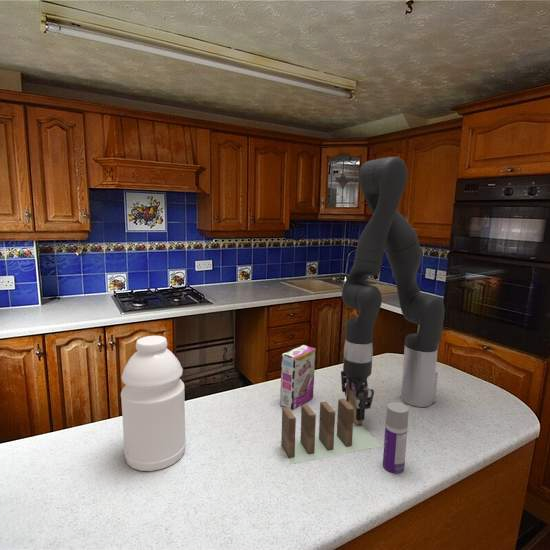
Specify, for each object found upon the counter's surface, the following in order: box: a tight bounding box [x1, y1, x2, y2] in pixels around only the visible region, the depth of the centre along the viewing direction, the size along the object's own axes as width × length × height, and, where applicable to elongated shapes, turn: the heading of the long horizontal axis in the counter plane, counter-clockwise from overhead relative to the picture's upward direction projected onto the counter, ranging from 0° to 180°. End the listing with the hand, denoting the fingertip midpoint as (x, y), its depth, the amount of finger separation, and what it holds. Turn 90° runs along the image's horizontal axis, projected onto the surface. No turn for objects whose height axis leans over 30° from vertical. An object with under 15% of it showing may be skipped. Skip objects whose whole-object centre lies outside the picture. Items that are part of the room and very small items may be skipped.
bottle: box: [120, 335, 187, 472], centre depth 86 cm, size 14×14×28 cm
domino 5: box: [348, 388, 363, 426], centre depth 103 cm, size 2×5×10 cm, turn 18°
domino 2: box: [299, 403, 317, 455], centre depth 90 cm, size 2×5×10 cm, turn 18°
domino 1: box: [280, 407, 297, 458], centre depth 88 cm, size 2×5×10 cm, turn 18°
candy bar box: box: [279, 344, 317, 411], centre depth 112 cm, size 11×5×16 cm, turn 141°
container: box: [382, 401, 409, 475], centre depth 83 cm, size 5×5×15 cm
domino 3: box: [318, 400, 336, 451], centre depth 91 cm, size 2×5×10 cm, turn 18°
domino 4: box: [336, 398, 354, 447], centre depth 93 cm, size 2×5×10 cm, turn 18°
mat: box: [277, 425, 382, 465], centre depth 93 cm, size 24×9×1 cm, turn 108°
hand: (354, 414), depth 103 cm, fingers closed on domino 5, 5 cm apart
